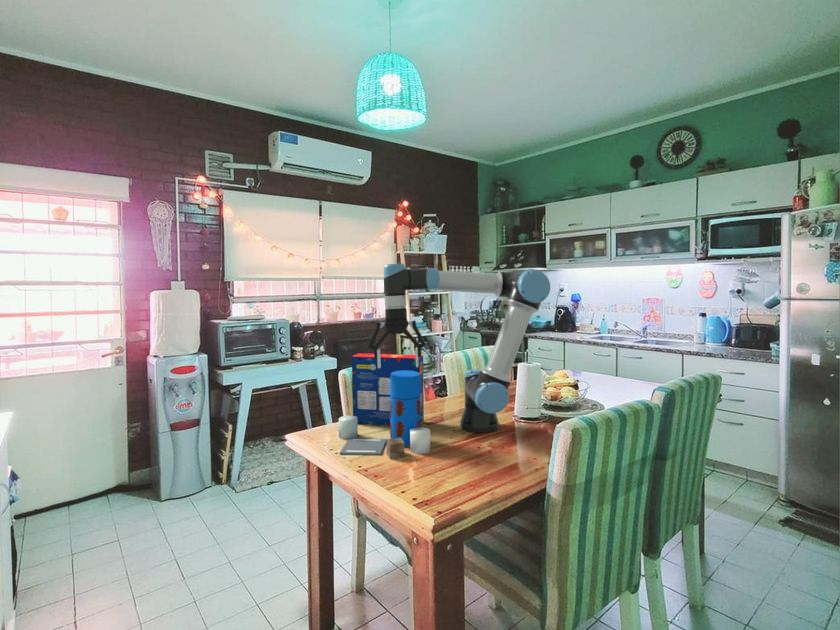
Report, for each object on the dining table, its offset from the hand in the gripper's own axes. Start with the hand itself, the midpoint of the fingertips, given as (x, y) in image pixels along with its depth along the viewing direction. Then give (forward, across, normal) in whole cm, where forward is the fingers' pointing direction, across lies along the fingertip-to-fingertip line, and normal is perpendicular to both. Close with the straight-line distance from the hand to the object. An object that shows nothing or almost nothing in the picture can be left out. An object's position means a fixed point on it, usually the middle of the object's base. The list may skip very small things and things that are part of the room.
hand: (398, 367), depth 162 cm
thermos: (+28, -1, -1) cm, 28 cm away
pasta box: (+28, +8, -23) cm, 37 cm away
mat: (+27, +13, +5) cm, 31 cm away
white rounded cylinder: (+28, -7, +7) cm, 30 cm away
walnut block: (+28, +1, +12) cm, 30 cm away
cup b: (+27, +21, -6) cm, 35 cm away
